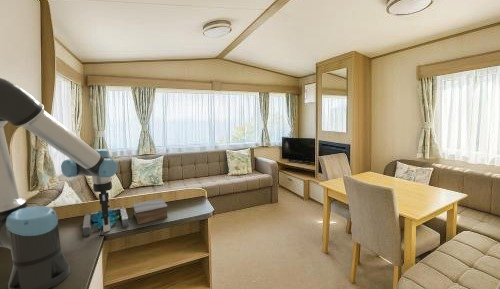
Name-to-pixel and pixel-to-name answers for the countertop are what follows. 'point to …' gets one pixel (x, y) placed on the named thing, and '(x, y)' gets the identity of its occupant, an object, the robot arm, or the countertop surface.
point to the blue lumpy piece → (112, 219)
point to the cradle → (89, 217)
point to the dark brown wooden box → (150, 210)
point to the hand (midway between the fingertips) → (106, 225)
